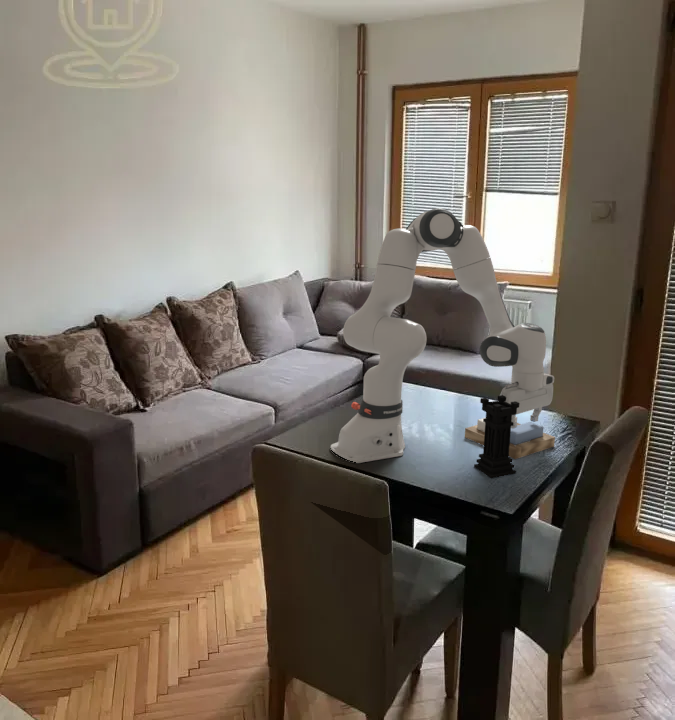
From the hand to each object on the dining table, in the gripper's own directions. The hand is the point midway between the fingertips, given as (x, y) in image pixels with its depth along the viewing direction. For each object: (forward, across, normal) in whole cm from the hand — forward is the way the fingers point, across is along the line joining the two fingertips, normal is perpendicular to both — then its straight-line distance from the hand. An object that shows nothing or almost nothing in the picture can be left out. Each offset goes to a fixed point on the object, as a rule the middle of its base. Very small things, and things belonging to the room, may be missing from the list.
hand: (523, 424), depth 200 cm
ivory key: (+4, 0, +10) cm, 10 cm away
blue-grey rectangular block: (+4, 0, 0) cm, 4 cm away
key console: (+7, 0, +5) cm, 8 cm away
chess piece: (+7, -20, -7) cm, 22 cm away
